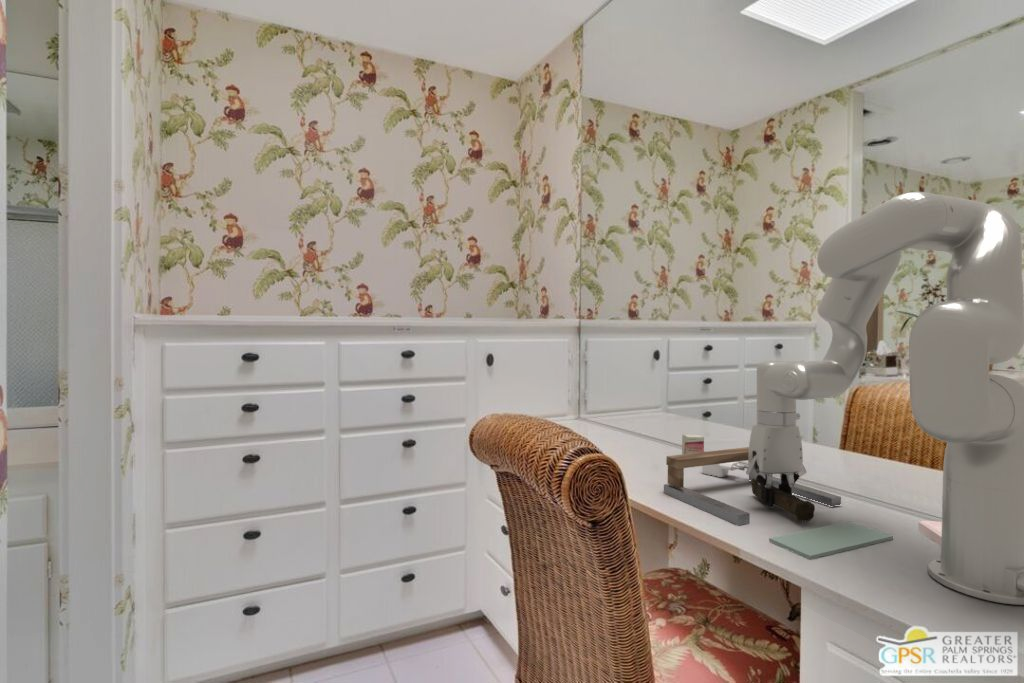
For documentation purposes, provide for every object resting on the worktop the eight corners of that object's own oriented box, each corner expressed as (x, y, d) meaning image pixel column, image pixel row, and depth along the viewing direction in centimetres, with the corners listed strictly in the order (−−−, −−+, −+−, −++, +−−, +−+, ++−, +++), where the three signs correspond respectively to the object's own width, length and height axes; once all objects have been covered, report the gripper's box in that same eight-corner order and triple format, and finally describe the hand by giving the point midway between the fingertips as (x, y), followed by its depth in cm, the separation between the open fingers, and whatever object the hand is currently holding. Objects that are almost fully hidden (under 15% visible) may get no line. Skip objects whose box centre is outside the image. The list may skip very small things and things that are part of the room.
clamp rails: (840, 505, 114) (841, 496, 114) (738, 525, 102) (738, 515, 102) (757, 479, 134) (757, 471, 134) (663, 493, 122) (663, 484, 122)
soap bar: (949, 534, 99) (949, 521, 99) (980, 553, 90) (980, 539, 90) (916, 531, 100) (917, 519, 100) (944, 550, 92) (944, 537, 92)
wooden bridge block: (770, 474, 130) (770, 449, 130) (677, 488, 118) (678, 460, 118) (757, 470, 133) (757, 446, 133) (666, 483, 122) (666, 456, 122)
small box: (686, 464, 149) (686, 436, 149) (681, 460, 153) (681, 433, 153) (704, 464, 149) (704, 436, 149) (698, 460, 153) (699, 433, 153)
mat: (893, 539, 95) (893, 536, 95) (809, 559, 87) (810, 555, 87) (849, 524, 103) (849, 521, 103) (769, 541, 94) (769, 538, 94)
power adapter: (750, 479, 134) (750, 457, 133) (742, 483, 130) (742, 460, 130) (709, 471, 142) (709, 449, 142) (700, 474, 139) (700, 452, 138)
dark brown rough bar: (816, 522, 102) (816, 498, 102) (796, 522, 101) (796, 498, 102) (764, 494, 121) (764, 473, 121) (747, 494, 120) (747, 474, 120)
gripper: (799, 415, 116) (799, 498, 116) (730, 417, 114) (730, 501, 114) (823, 420, 109) (824, 508, 109) (751, 422, 106) (751, 512, 106)
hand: (776, 504), depth 111 cm, fingers closed on dark brown rough bar, 3 cm apart
